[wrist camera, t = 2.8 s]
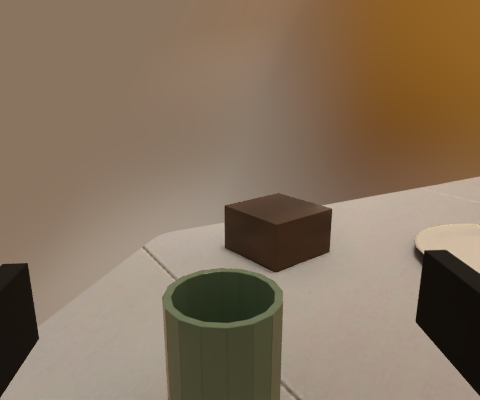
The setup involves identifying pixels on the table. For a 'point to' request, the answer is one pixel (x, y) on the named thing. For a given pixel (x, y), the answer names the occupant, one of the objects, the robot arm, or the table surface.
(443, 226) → the plate
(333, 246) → the table surface
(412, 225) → the table surface
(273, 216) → the block
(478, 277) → the robot arm
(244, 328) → the cup
